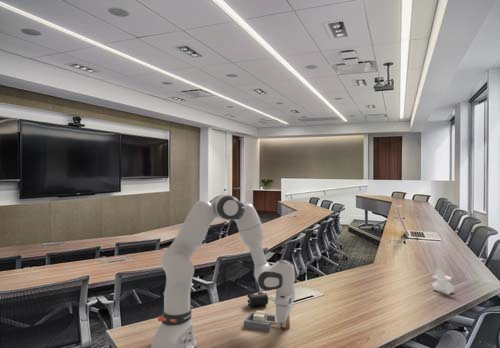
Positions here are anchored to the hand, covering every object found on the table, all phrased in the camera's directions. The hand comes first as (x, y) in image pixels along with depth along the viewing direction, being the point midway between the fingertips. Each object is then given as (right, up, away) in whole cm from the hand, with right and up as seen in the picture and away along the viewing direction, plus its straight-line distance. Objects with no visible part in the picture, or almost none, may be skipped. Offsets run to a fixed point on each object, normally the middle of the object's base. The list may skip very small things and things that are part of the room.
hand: (285, 324), depth 157 cm
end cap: (-13, -2, +26) cm, 29 cm away
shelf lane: (-12, -2, +4) cm, 13 cm away
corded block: (-6, -2, +2) cm, 7 cm away
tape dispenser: (+102, -2, +48) cm, 113 cm away
